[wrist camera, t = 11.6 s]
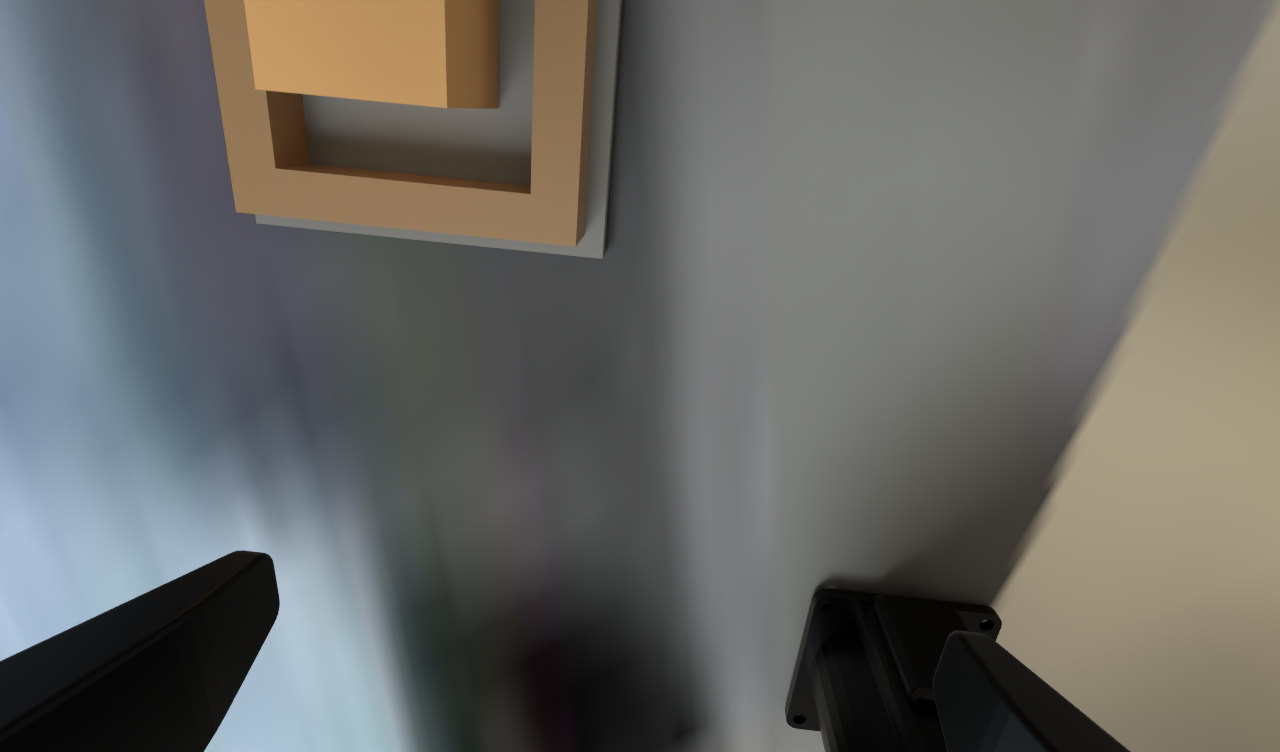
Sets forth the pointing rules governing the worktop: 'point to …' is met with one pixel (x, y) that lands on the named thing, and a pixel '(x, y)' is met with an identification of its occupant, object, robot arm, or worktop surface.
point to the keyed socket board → (438, 141)
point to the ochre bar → (378, 50)
